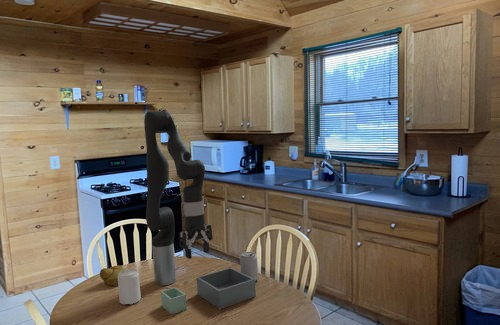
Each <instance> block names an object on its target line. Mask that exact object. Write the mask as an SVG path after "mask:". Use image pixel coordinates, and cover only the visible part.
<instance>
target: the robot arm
mask: <svg viewBox="0 0 500 325" xmlns="http://www.w3.org/2000/svg"><path fill="white" fill-rule="evenodd" d="M143 122H144V123H143V125H144V137H145V146H146V147H145V148H146V180H147V181H146V182H147V183H146V184H147V192H146V193H147V198H146V210H145V221H146V225H147V226H146V227H147V228H148V229H149V231H151V232H156V231H158V233H157V234H156V235H155V236H153V237H152V239H151V245H152V247H151V248H152V249H151V250H152V261H153V272H154V273H153V275H154V284H155V285H156V286H169V285H172V284H174V283H175V282H176V281H177V278H176V276H177V275H176V262H175V261H176V259H175V248H174V246H175V245H174V239H175V215H174V211H173V210H172V208H170V207H168V206H162V207H160V206H161V205H160V204H161V198H162V196H163V193H164V191H165V189H166V187H167V185H168V183H169V181H170V180H169V179H170V169H169V168H170V166H169V165H170V164H169V161H168V159H167V158H166V156H165V154H164V153H163V152H162V150H161V149H160V146H159V145H158V141H157V134H165V133H166V134H167V135H168V136H169V137H168V139H167V140H168V141H167V144H166V146H167V147H166V148H167V152H168V153H169V155H170V157H171V158H172V160H173V162H174V165H175V170H176V175H177V177H178V178H179V179H181V180H182V181H184V180H185V181H187V180H192V182H191V184H189V185H186V186H184V187H183V188H182V189H183V190H182V192H183V193H182V194H183V195H182V196H183V214H184V224H185V227H186V229H185V230H186V231H179V233H178V234H179V248H181V249H184V252H185V253H184V254H185V257H186V259H188V260H190V259H192V256H193V255H192V248H191V247H192V245H193V244H194V242H196V241H198V240H201V241H202V246H203V248H202V249H203V250H202V251H203V253H205V254H208V253H209V251H210V241H213V230H212V225H211V224H206V218H205V216H206V215H205V204H204V201H203V199H204V198H203V184H204V179H205V174H206V168H205V164H204V162H203V161H202V160H200V159H192V154H191V152H190V150H189V148H188V146H186V144H185V142H184V141H183V139H182V137H181V135H180V132H179V130H178V127H177V125H176V122H175V120H174V118H173V116H172V114H171V113H170V112H169V111H165V110H164V111H163V110H155V111H153V110H152V111H151V110H150V111H149V110H148V111H147V112H146V113H145V115H144V121H143Z"/></svg>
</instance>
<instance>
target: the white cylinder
mask: <svg viewBox="0 0 500 325" xmlns="http://www.w3.org/2000/svg"><path fill="white" fill-rule="evenodd" d="M117 286H118V296H119V300H118V301H119V303H120V304H121V305H125V304H130V305H134V304H136V303H138V302H140V300H141V299H142V298H141V295H142V294H141V282H140V274H139V271H138V269H135V268H126V270H123V271H121V272H119V275H118V285H117ZM133 303H134V304H133Z"/></svg>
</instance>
